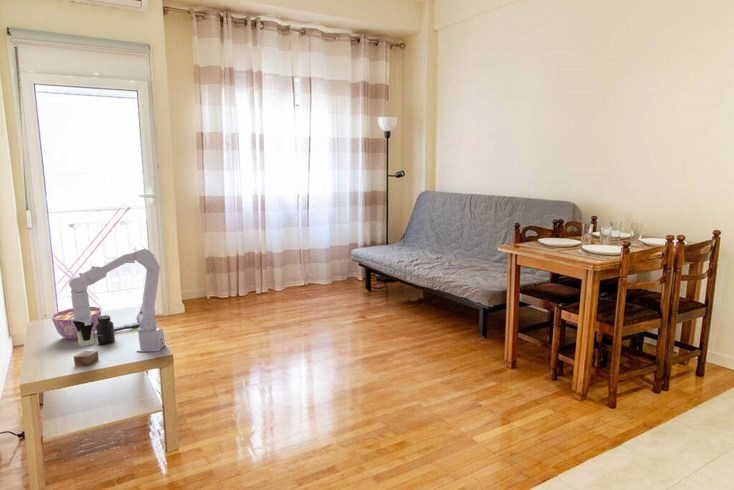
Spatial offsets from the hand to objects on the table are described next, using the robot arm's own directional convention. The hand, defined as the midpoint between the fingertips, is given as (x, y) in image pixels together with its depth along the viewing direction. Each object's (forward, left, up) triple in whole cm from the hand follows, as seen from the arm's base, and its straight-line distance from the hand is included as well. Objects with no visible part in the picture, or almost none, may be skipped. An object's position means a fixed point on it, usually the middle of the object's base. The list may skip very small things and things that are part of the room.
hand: (85, 338), depth 193 cm
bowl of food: (+21, -30, -10) cm, 38 cm away
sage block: (0, 0, -2) cm, 2 cm away
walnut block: (0, 0, -10) cm, 10 cm away
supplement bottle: (+4, -22, -10) cm, 24 cm away
